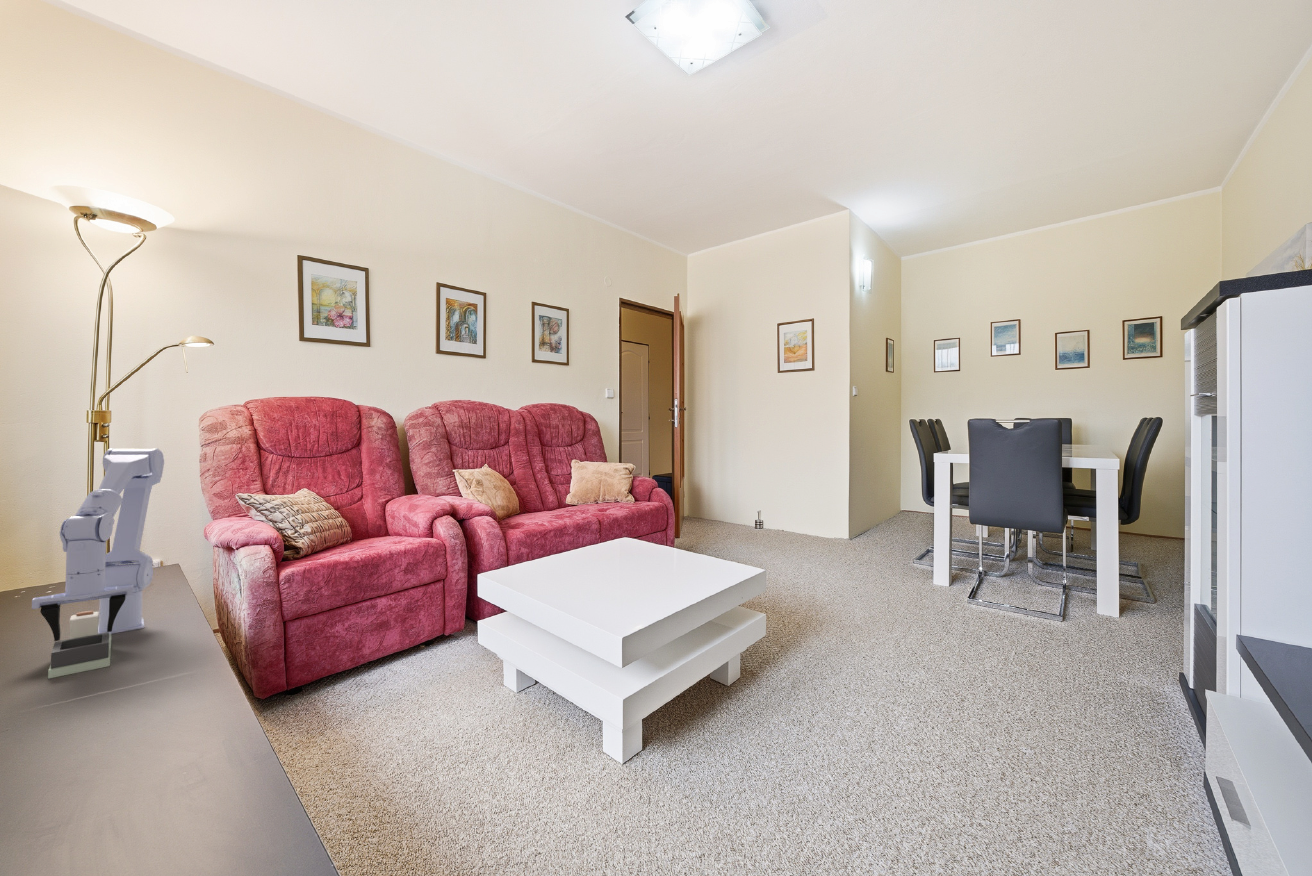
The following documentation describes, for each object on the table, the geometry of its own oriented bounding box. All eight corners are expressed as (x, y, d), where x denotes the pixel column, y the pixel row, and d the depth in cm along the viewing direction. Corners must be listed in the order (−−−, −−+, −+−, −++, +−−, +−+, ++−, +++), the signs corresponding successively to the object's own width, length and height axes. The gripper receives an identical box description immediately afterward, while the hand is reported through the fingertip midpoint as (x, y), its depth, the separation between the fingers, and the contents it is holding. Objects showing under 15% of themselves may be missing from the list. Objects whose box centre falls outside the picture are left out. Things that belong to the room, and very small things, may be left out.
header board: (57, 650, 111) (57, 629, 111) (111, 640, 117) (111, 620, 117) (48, 678, 97) (48, 654, 97) (109, 665, 103) (110, 643, 103)
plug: (70, 643, 111) (71, 613, 111) (97, 638, 114) (98, 609, 114) (68, 649, 107) (69, 618, 108) (97, 644, 110) (98, 614, 110)
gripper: (30, 580, 103) (28, 649, 103) (134, 568, 113) (132, 631, 113) (34, 574, 108) (32, 640, 107) (133, 563, 118) (132, 623, 118)
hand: (84, 635), depth 111 cm, fingers open, 7 cm apart
